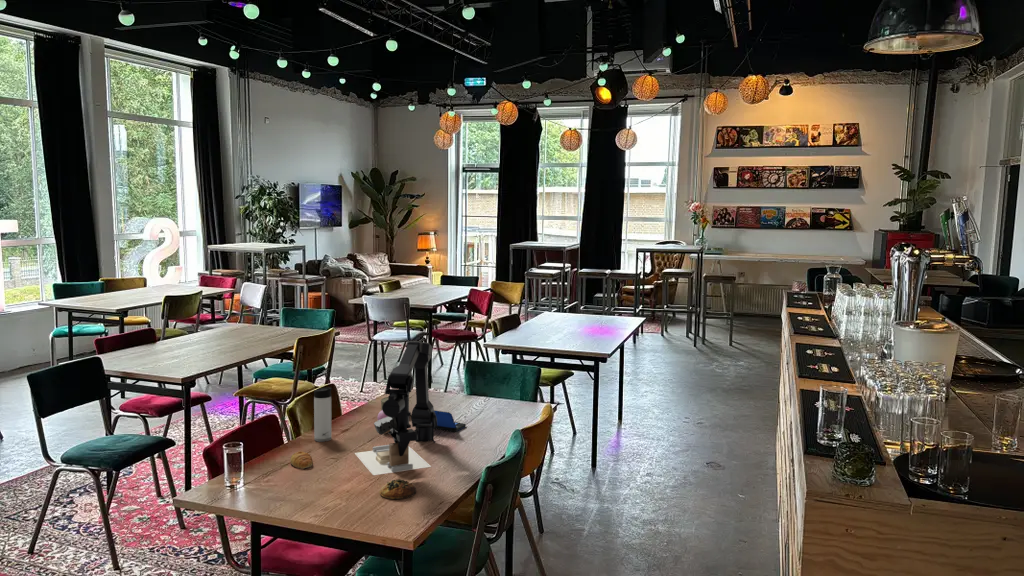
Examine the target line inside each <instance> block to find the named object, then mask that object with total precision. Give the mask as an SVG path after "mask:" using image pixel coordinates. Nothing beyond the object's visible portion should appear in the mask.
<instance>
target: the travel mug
mask: <svg viewBox="0 0 1024 576" xmlns="http://www.w3.org/2000/svg"><path fill="white" fill-rule="evenodd" d="M332 389H333V388H332V387H320V388H319V387H318V388H316V390H314V392H313V395H314V396H313V409H314V410H313V414H314V415H313V416H314V417H313V422H314V430H313V432H314V433H313V434H314V435H313V436H314V441H315V442H318V443H319V442H320V443H326V442H329V441H331V440H332ZM325 441H326V442H325Z"/></svg>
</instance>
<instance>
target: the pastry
mask: <svg viewBox="0 0 1024 576" xmlns="http://www.w3.org/2000/svg"><path fill="white" fill-rule="evenodd" d="M313 463H314V461H313V458H312V456H311V454H309V453H308V452H305V451H302V450H301V451H300V450H299V451H297V452H295V453H293V454H292V455H291V456H290V464H291V465H292V466H293V467H295V468H298V469H301V470H304V469H306V468H311V467H312V465H313Z"/></svg>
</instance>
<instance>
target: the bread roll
mask: <svg viewBox="0 0 1024 576" xmlns="http://www.w3.org/2000/svg"><path fill="white" fill-rule="evenodd" d="M416 492H417V488H416V486H415V485H414V484H413V483H412V482H409V481H407V480H406V481H405V480H404V479H401V478H398V479H392V480H390V481H387V482H386V483H385V484H384V485H383V486H382V487H381V488H380V490H379V494H380V496H382V497H383V498H385V499H388V500H390V499H392V500H400V499H402V500H403V499H408V497H409V498H410V497H413V496H414V495H416Z"/></svg>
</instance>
